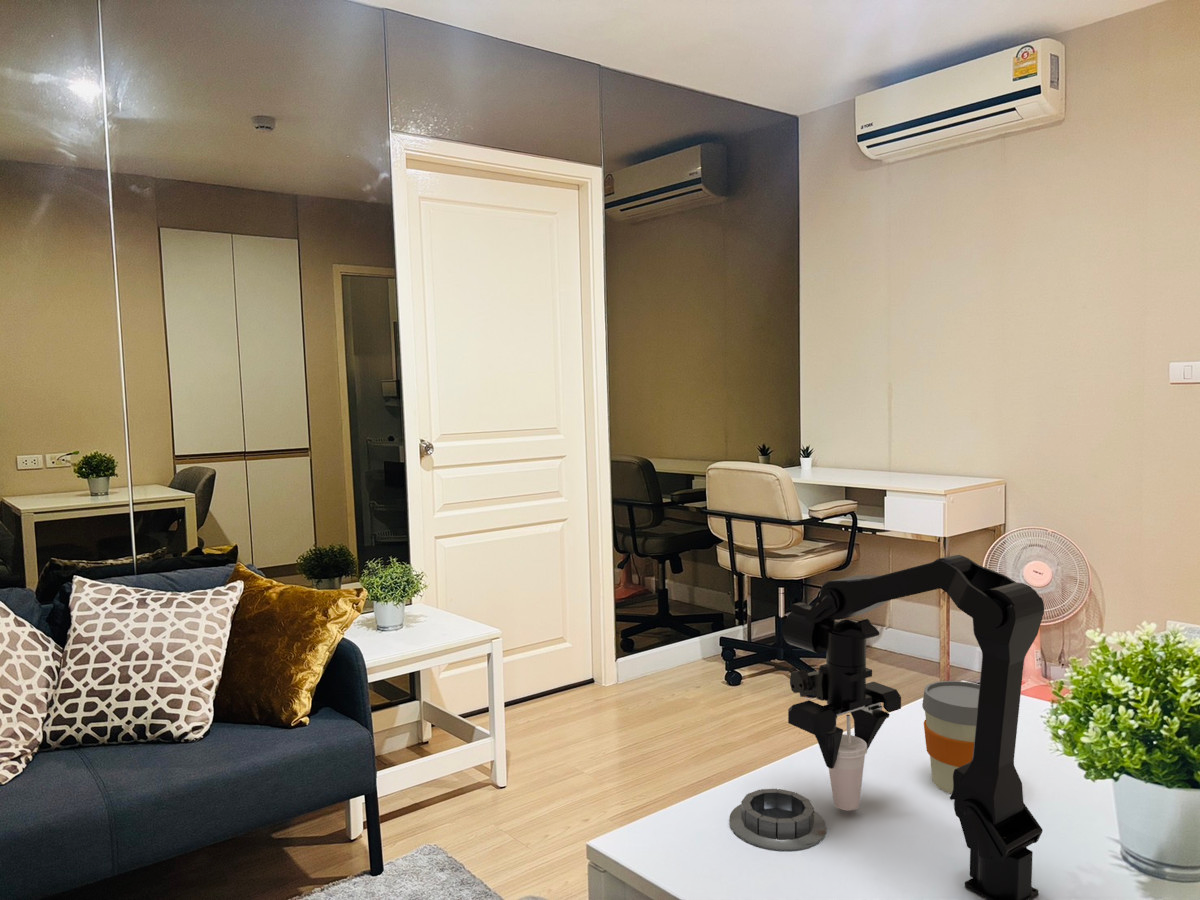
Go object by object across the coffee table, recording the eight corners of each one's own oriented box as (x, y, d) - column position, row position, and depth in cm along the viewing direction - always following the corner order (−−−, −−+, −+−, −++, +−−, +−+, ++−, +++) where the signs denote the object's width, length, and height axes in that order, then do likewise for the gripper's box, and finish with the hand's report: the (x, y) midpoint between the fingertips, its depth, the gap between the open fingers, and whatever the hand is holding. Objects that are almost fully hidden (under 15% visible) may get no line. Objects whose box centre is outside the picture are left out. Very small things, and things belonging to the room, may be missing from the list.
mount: (846, 832, 127) (847, 811, 127) (776, 861, 119) (776, 839, 119) (778, 794, 139) (778, 775, 138) (710, 818, 131) (710, 798, 131)
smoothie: (870, 816, 129) (868, 725, 127) (825, 813, 130) (823, 723, 129) (866, 794, 135) (864, 707, 134) (823, 792, 136) (821, 706, 135)
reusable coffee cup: (925, 798, 137) (927, 705, 136) (916, 763, 149) (918, 677, 148) (1012, 806, 134) (1015, 711, 133) (996, 770, 146) (998, 683, 145)
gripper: (847, 637, 142) (846, 730, 144) (762, 658, 132) (761, 758, 134) (904, 655, 133) (902, 754, 134) (817, 678, 123) (816, 786, 124)
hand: (845, 762), depth 132 cm, fingers closed on smoothie, 6 cm apart
